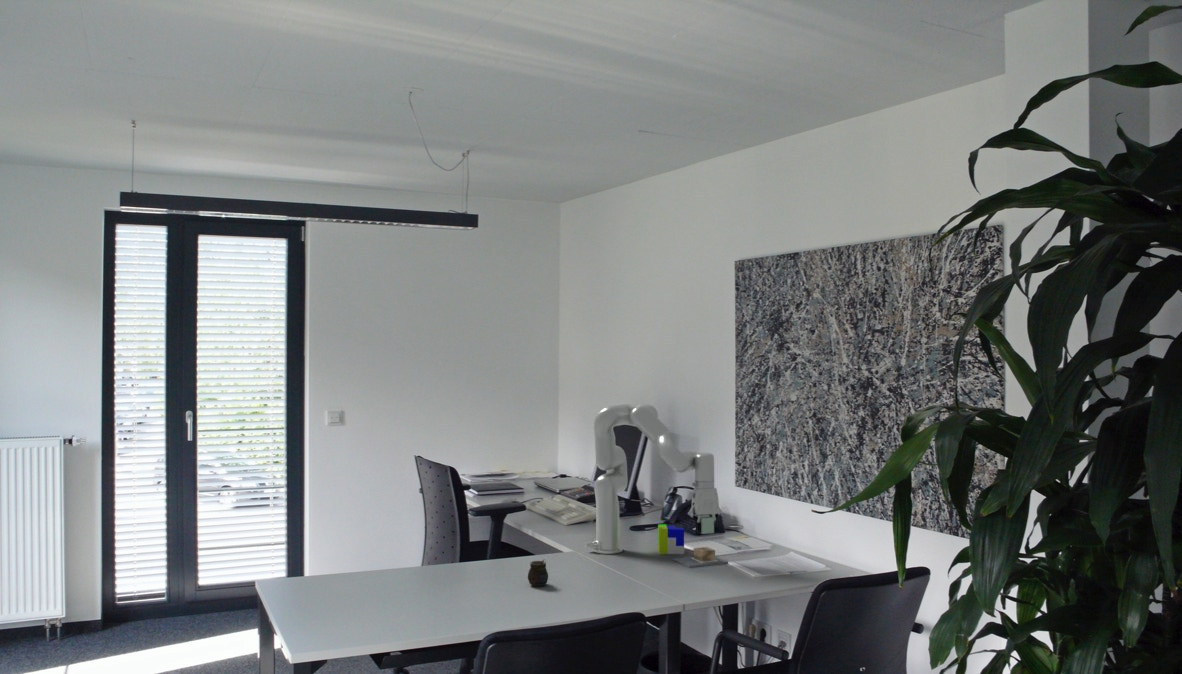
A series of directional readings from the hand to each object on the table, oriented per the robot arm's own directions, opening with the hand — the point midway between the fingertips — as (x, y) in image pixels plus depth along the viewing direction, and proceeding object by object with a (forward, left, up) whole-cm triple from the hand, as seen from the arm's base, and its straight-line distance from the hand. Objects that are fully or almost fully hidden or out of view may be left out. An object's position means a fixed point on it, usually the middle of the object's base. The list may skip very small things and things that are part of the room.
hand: (705, 531), depth 342 cm
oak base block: (0, 0, -11) cm, 11 cm away
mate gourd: (-71, -8, -12) cm, 73 cm away
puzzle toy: (-4, +21, -12) cm, 25 cm away
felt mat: (-2, 0, -12) cm, 12 cm away
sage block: (0, 0, 0) cm, 0 cm away
